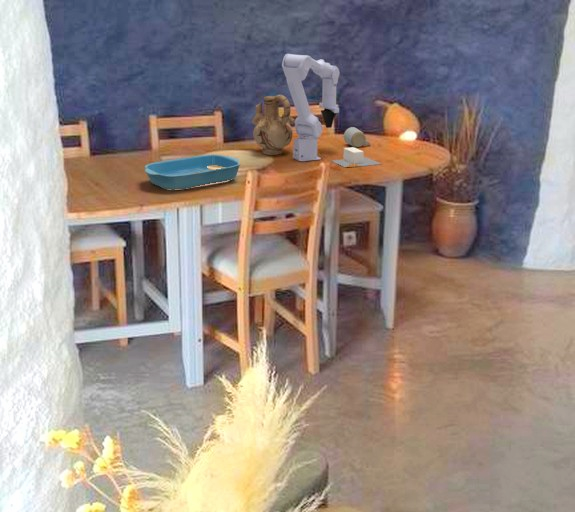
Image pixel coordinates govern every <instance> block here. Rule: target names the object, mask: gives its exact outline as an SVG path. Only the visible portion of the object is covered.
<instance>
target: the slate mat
mask: <svg viewBox="0 0 575 512" xmlns="http://www.w3.org/2000/svg"><path fill="white" fill-rule="evenodd" d="M331 163H333V164H335V165H338V164H339V165H338V166H340V165H341V166H340V167H342V166H343V167H342V168H344V167H347V166H349V164H350V165H352V164H351V162H349V161H346V160H344V159H343V158H342V159H335V160H331ZM356 164H357V165H358V166H362V167H369V166H368V165H372V166H380V165H382V163H381V162H379V161H376V160H373V159H372V158H369V157H367V156H364V161H363V163H356ZM354 166H355V164H354Z"/></svg>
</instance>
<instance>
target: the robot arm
mask: <svg viewBox="0 0 575 512" xmlns="http://www.w3.org/2000/svg"><path fill="white" fill-rule="evenodd" d="M281 67H282V70H283V73H284V76H285V78H286V83H287V86H288V90H289V92H290V96H291V99H292V102H293V105H294V108H295V111H296V114H297V117H296V118H295V119H294V120H295V121H294V123H293V124H294V127H295V128H294V130H295V133H296V135H297V136H298V137H296V138H294V139H293V145H292V149H293V150H292V158H293V159H295V160H297V161H298V162H307V161H308V162H309V161H310V162H311V161H318V160H322V158H321V157H319V156H318V139H319V137H320V136H321V135H322V132H323V125H322V123H321V122H320V121H319V117H317V116H316V115H314V114H313V113H312V111H311V107H310V104H309V101H308V98H307V95H306V92H305V89H304V86H303V82H302V81H304V80H305V79H306V78H307V76H308V73H309V70H310V69H311V70H312V72H313V73H314V74H315V75H317V76H319V77H320V79H322V88H321V89H322V90H321V91H322V96H321V97H322V99H321V101H322V102H319V104H318V105H319V108H322V110H321V111H320V112H321V114H322V116H323V120H324V125H325V128H327V129H328V128H332V127H333V124H334V120H335V118H336V116H337V114H339V113H340V107H339V104H337V84H338V82H339V78H340V74H341V73H340V69H339V68H338V67H337V65H331V63H330V62H327V61H326V62H325V59H322V58H321V59H318V60H316V59H313V58H312V56H311V55H307V54H305V55H303V54H292V53H286V54H285V55H284V56H283V59H282V62H281Z"/></svg>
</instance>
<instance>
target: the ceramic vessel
mask: <svg viewBox="0 0 575 512" xmlns="http://www.w3.org/2000/svg"><path fill="white" fill-rule="evenodd" d="M280 103H282V107H283V114H281V116H280V112H279V110H280V109H279V104H280ZM263 105H264V111H263ZM254 109H255V115H254V117H253V119H252V120H251V123H252V124H253V125H255V127H254V129H253V131H252V137H253V139H254V142H255V143H256V145H257V146H258V147H260V148H262V154H263V153H264V155H267V156H277V155H280V154H283V149H284V148H285V147H287V146H288V145H290V143H291V142H292V140H293V133H294V132H293V127H292V126H291V125H293V124H295V123H294V122H295V120H296V119H295V118H293V117H292V116H291V104H290V102H289V99H288V98H287V97H286V96H284V95H283V94H277V95H275V96H274V95H273V96H272V95H267V96H264V97H263V101H260V102H259V103H258V104H256V105H255V106H254ZM263 113H264V114H263Z"/></svg>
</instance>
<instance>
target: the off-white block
mask: <svg viewBox="0 0 575 512" xmlns="http://www.w3.org/2000/svg"><path fill="white" fill-rule="evenodd" d="M342 151H343V152H342V154H343V155H342V160H343V159H344V160H346V161H349V162H351V163H353V164H356V163H363V161H364V157H365V156H364V155H365V152H364V150H361V149H359V148H357V147H353V146H351V147H343V149H342Z"/></svg>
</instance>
